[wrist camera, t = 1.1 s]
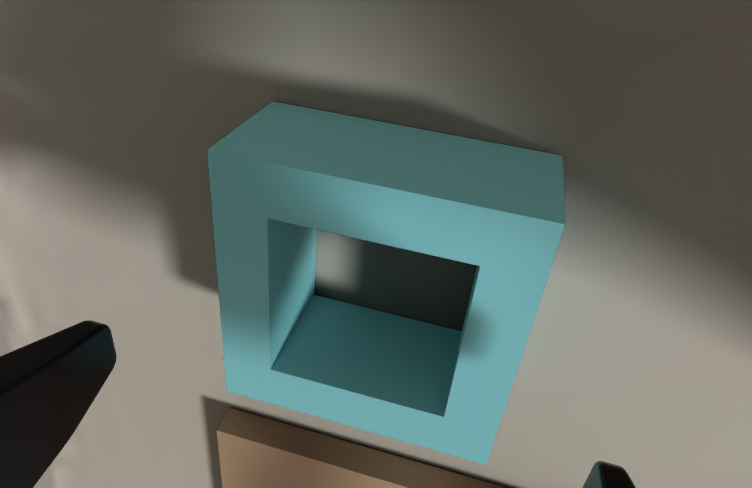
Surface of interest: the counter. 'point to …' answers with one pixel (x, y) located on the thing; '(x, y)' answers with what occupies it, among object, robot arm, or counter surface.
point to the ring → (389, 227)
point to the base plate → (316, 460)
